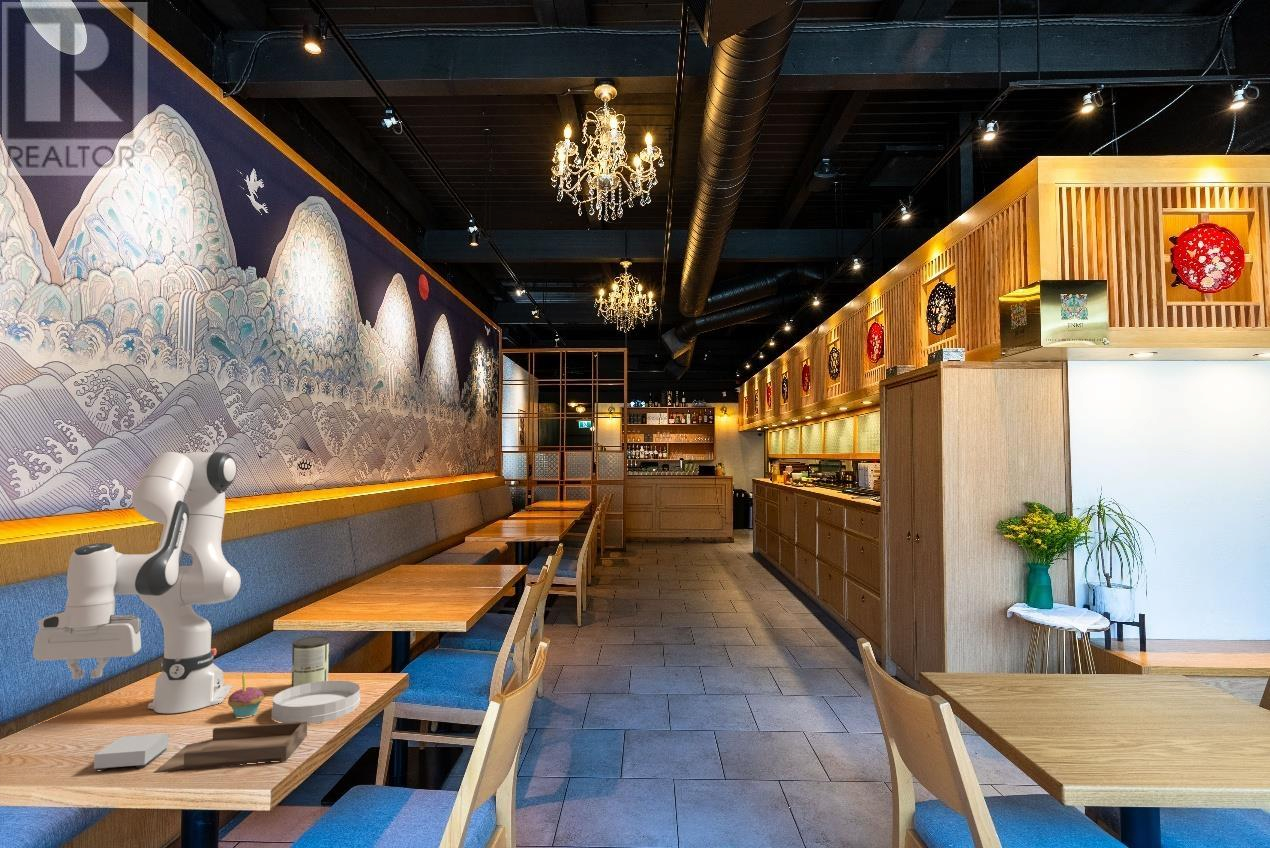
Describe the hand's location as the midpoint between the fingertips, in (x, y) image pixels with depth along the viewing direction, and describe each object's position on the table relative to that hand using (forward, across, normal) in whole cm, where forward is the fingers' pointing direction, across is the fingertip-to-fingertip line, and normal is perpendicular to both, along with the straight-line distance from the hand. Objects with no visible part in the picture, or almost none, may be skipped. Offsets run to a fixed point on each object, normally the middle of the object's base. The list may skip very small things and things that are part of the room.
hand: (87, 677), depth 150 cm
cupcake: (+19, -24, -26) cm, 40 cm away
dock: (+19, -32, 0) cm, 37 cm away
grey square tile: (+19, -10, 0) cm, 22 cm away
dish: (+20, -42, -26) cm, 53 cm away
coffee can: (+19, -34, -48) cm, 62 cm away
